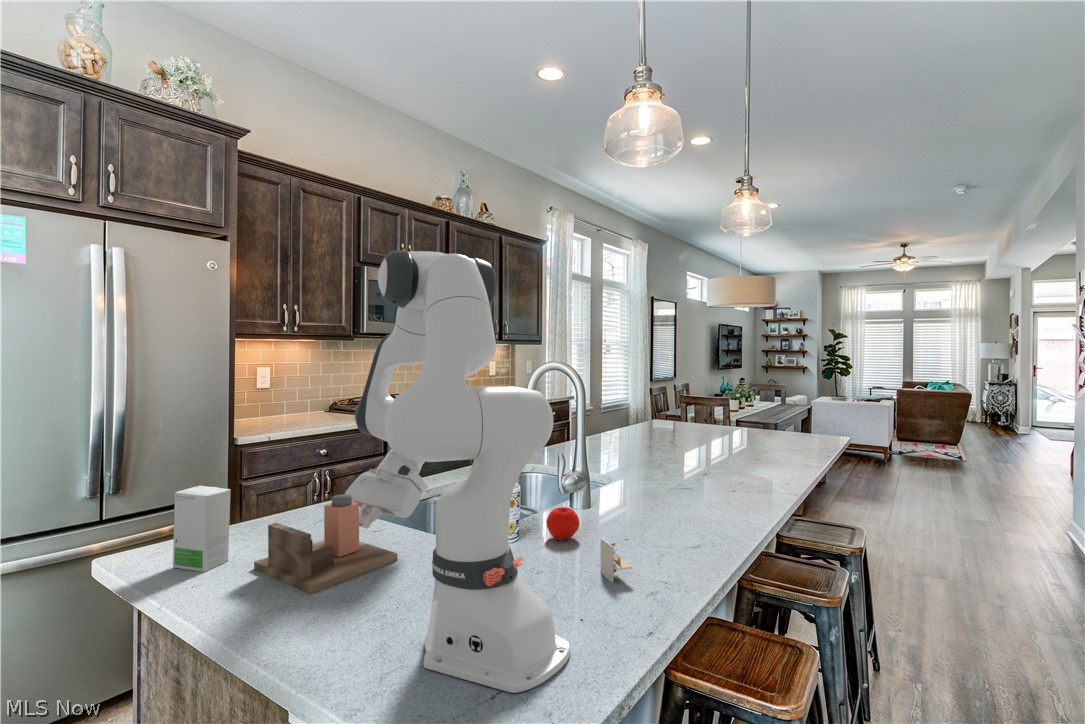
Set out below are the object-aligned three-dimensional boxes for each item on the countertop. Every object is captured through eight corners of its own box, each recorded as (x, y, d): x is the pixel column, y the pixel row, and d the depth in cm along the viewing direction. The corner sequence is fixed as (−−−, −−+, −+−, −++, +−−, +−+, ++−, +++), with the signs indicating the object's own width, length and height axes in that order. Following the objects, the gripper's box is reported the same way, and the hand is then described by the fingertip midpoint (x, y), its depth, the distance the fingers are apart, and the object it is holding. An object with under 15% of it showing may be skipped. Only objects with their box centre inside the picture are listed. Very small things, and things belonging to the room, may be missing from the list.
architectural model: (615, 572, 113) (615, 536, 113) (631, 585, 106) (631, 547, 106) (600, 574, 112) (600, 537, 111) (615, 588, 105) (615, 549, 105)
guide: (397, 560, 117) (397, 515, 117) (310, 593, 101) (310, 542, 101) (340, 541, 129) (339, 500, 129) (254, 568, 112) (253, 522, 112)
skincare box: (171, 568, 112) (171, 492, 112) (199, 556, 119) (198, 484, 119) (205, 572, 110) (205, 495, 110) (231, 560, 117) (231, 487, 117)
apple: (566, 547, 126) (566, 514, 126) (539, 539, 131) (539, 508, 130) (585, 537, 132) (585, 506, 132) (558, 531, 137) (558, 501, 137)
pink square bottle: (359, 550, 118) (359, 496, 118) (338, 557, 114) (338, 501, 114) (344, 545, 121) (344, 492, 121) (324, 551, 117) (324, 497, 117)
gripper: (360, 460, 133) (323, 510, 126) (418, 471, 122) (382, 527, 114) (375, 475, 137) (341, 525, 129) (433, 487, 125) (399, 542, 118)
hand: (360, 526), depth 121 cm, fingers closed
